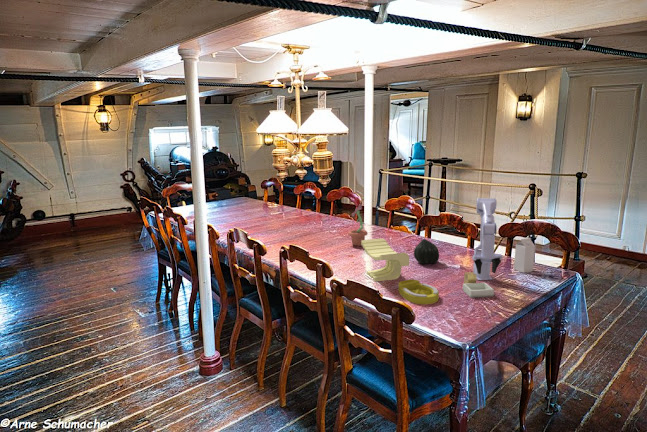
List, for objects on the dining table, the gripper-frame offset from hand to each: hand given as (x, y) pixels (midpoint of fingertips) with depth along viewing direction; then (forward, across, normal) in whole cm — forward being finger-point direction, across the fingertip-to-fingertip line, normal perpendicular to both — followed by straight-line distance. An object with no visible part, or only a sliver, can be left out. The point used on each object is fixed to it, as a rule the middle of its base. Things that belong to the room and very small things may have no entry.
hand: (486, 272), depth 208 cm
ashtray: (+10, -35, -1) cm, 37 cm away
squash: (+10, -14, +48) cm, 51 cm away
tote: (+10, -5, -3) cm, 11 cm away
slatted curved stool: (+10, -46, +29) cm, 55 cm away
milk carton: (+10, +35, +25) cm, 45 cm away
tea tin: (+10, -5, +7) cm, 13 cm away
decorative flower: (+10, -49, +95) cm, 107 cm away
